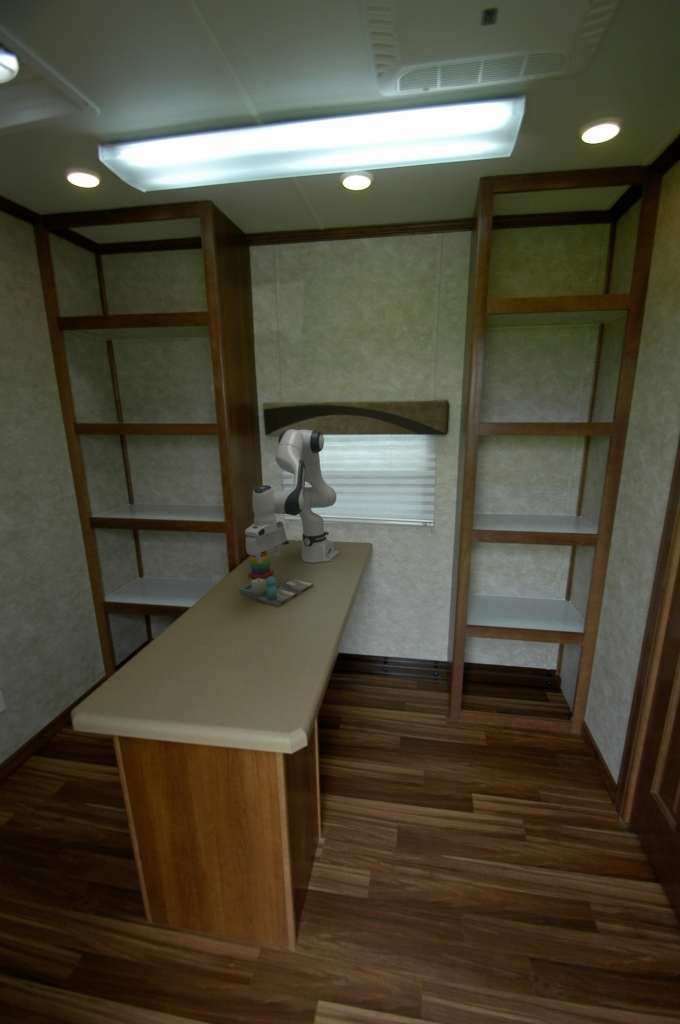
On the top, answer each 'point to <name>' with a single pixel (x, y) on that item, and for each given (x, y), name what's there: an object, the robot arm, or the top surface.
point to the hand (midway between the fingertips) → (268, 558)
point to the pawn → (271, 588)
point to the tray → (248, 591)
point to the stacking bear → (260, 567)
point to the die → (258, 585)
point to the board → (286, 592)
